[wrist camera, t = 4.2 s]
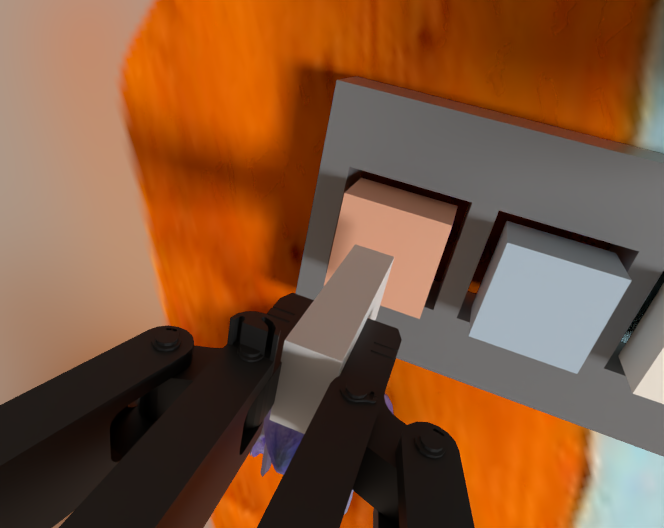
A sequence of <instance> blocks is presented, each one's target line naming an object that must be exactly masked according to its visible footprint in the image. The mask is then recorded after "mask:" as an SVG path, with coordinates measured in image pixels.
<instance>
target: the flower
mask: <svg viewBox="0 0 664 528" xmlns="http://www.w3.org/2000/svg"><path fill="white" fill-rule="evenodd" d="M384 398H385V403H386V405H387V407H388V409H389V410H390V411H391V412H392V414H393V406H392V403H391V401H390V399H389V398H388V396H387V395H386V394H384ZM271 409H272V407H271ZM271 409H270V411H269V412H268V414H267V415H266V417H265V418H264V424H263V428H262V432H261V434H260V436H259V438H258V439H257V441H256V443H255V444H254V446H253V447H252V449H251V451H250V455H251V453H252V456H253V457H255V456H257V455H258V454H259V453H262V454H263V461H262V468H261V475H262V477H263V476H264V474H265V473H266V472H267V471H268V470H269V468H270V466H271V463H272V464H273V466H274V469H275V470H276V472H278V473H280V474H283V475H284V473H285V471H286V470H287V468H288V466H289V464H290V462H291V460H292V458H293V456H294V454H295V452H296V450H297V448H298V446H299V444H300V442H301V440H302V438H303V436H304V434H303V433H300V432H298V431H296V430H293V429H291V428H288V427H286V426H283V425H281V424H279V423H276V422H274V421H271V420H269V419H270V414H271ZM393 415H394V414H393ZM352 494H353V490H352V492H351V495H350V498H349V501H348V503H347V506H346V509H345V512H344V514H345V513H347V510H348V507H349V505H350V502H351V499H352Z"/></svg>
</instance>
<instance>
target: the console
mask: <svg viewBox="0 0 664 528" xmlns="http://www.w3.org/2000/svg"><path fill="white" fill-rule="evenodd" d="M362 170H363V171H366V172H369V173H373V174H376V175H380V176H383V177H386V178H390V179H393V180H397V181H400V182H404V183H407V184H410V185H414V186H417V187H421V188H424V189H427V190H431V191H434V192H438V193H441V194H444V195H448V196H451V197H455V198H458V199H462V200H465V201H468V202H469V205H468V208H467V210H466V213H465V216H464V219H463V221H462V224H461V227H460V230H459V233H458V235H457V238H456V241H455V244H454V246H453V249H452V252H451V255H450V258H449V260H448V263H447V266H446V269H445V271H444V274H443V277H442V280H441V282H438V281H435V280H433V282H432V285H431V288H430V291H429V294H428V297H427V300H426V302H425V305H424V308H423V311H422V314H421V317H420V319H418V318H415V317H412V316H409V315H406V314H404V313H401V312H398V311H395V310H392V309H389V308H386V307H383V306H381V305H380V307H379V311H378V314H377V317H376V320H375V321H378V322H380V323H383V324H386V325H389V326H392V327H395V328H397V329H398V330H399V333H400V336H401V339H402V341H401V344H400V347H399V350H398V353H397V356H396V358H398V359H401V360H403V361H406V362H409V363H411V364H414V365H417V366H420V367H422V368H425V369H428V370H430V371H433V372H436V373H439V374H441V375H444V376H447V377H449V378H452V379H455V380H457V381H460V382H463V383H466V384H468V385H471V386H474V387H476V388H479V389H482V390H485V391H487V392H490V393H493V394H495V395H498V396H501V397H504V398H506V399H509V400H512V401H514V402H517V403H520V404H523V405H525V406H528V407H531V408H533V409H536V410H539V411H542V412H544V413H547V414H550V415H552V416H555V417H558V418H561V419H563V420H566V421H569V422H571V423H574V424H577V425H580V426H582V427H585V428H588V429H590V430H593V431H596V432H599V433H601V434H604V435H607V436H609V437H612V438H615V439H617V440H620V441H623V442H626V443H628V444H631V445H634V446H636V447H639V448H642V449H645V450H647V451H650V452H653V453H655V454H658V455H661V456H664V404H662V403H659V402H656V401H653V400H650V399H647V398H644V397H642V396H639V395H636V394H633V393H632V390H631V388H630V385H629V383H628V380H627V377H626V375H625V372H624V370H623V367H622V364H621V362H620V359H619V357H618V355H619V354H620V352H621V351H622V349H623V347H624V346H625V343H622V342H620V341H621V339H622V338H623V336H624V334H625V333H626V331H627V329H628V328H629V326H630V325H631V323H632V321H633V320H634V318H635V316H636V315H637V313H638V312H639V310H640V308H641V307H642V305H643V303H644V302H645V300H646V298H647V297H648V295H649V294H650V292H651V290H652V289H653V287H654V285H655V284H656V282H657V280H658V279H659V277H660V276H661V274H662V272H663V271H664V154H662V153H658V152H654V151H650V150H646V149H642V148H638V147H634V146H630V145H626V144H622V143H618V142H614V141H611V140H607V139H603V138H599V137H595V136H591V135H587V134H583V133H579V132H575V131H571V130H567V129H563V128H559V127H555V126H551V125H547V124H543V123H539V122H535V121H531V120H528V119H524V118H520V117H516V116H512V115H508V114H504V113H500V112H496V111H492V110H488V109H484V108H480V107H476V106H472V105H468V104H464V103H460V102H456V101H452V100H448V99H444V98H441V97H437V96H433V95H429V94H425V93H421V92H417V91H413V90H409V89H405V88H401V87H397V86H393V85H389V84H385V83H381V82H377V81H373V80H369V79H365V78H361V77H358V76H355V77H349V78H344V79H338V80H337V81H336V86H335V91H334V96H333V102H332V107H331V112H330V117H329V123H328V128H327V133H326V138H325V143H324V149H323V154H322V159H321V164H320V169H319V175H318V180H317V185H316V190H315V195H314V201H313V206H312V211H311V216H310V221H309V227H308V232H307V237H306V242H305V247H304V253H303V258H302V263H301V268H300V273H299V279H298V284H297V289H296V294H298V295H301V296H304V297H306V298H309V299H312V300H315V298H316V297H317V295H318V294H319V293H320V291H321V290H322V289H323V287H324V282H325V278H326V273H327V269H328V264H329V260H330V255H331V251H332V246H333V242H334V237H335V233H336V228H337V224H338V219H339V215H340V211H341V206H342V202H343V197H344V193H345V192H346V191H347V190H348V189H349V188H350V187H351V186H352V185H354V184H355V183H356V182H357V181H358V180H359V179H360V178H361V174H362ZM499 211H502V212H506V213H509V214H513V215H516V216H520V217H523V218H526V219H530V220H533V221H537V222H540V223H543V224H547V225H550V226H554V227H557V228H560V229H564V230H567V231H571V232H574V233H578V234H581V235H584V236H588V237H591V238H595V239H598V240H601V241H605V242H608V243H612V245H611V247H610V249H609V251H611V252H614V253H616V254H617V256H618V257H619V259H620V261H621V263H622V264H623V266H624V268H625V270H626V271H627V273H628V275H629V277H630V278H631V280H632V281H631V283H630V284H629V286H628V288H627V289H626V291H625V293H624V295H623V296H622V298H621V300H620V301H619V303H618V305H617V307H616V308H615V310H614V312H613V313H612V315H611V317H610V319H609V320H608V322H607V324H606V325H605V327H604V329H603V331H602V332H601V334H600V336H599V338H598V339H597V341H596V343H595V344H594V346H593V348H592V350H591V351H590V353H589V355H588V356H587V358H586V360H585V362H584V363H583V365H582V367H581V368H580V370H579V372H578V374H576V373H573V372H570V371H567V370H564V369H561V368H558V367H556V366H553V365H550V364H547V363H544V362H541V361H538V360H535V359H533V358H530V357H527V356H524V355H521V354H518V353H515V352H513V351H510V350H507V349H504V348H501V347H498V346H495V345H492V344H490V343H487V342H484V341H481V340H478V339H475V338H472V337H469V336H468V335H469V326H470V317H471V308H472V305H473V302H474V300H475V297H476V295H477V294H474V293H471V292H468V288H469V285H470V283H471V280H472V278H473V275H474V273H475V270H476V268H477V265H478V263H479V260H480V258H481V255H482V253H483V250H484V248H485V245H486V242H487V240H488V237H489V235H490V232H491V230H492V227H493V225H494V222H495V220H496V217H497V215H498V212H499Z"/></svg>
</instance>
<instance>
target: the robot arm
mask: <svg viewBox="0 0 664 528" xmlns="http://www.w3.org/2000/svg"><path fill="white" fill-rule="evenodd" d="M393 260H394V257H393V256H390V255H387V254H384V253H381V252H378V251H375V250H372V249H369V248H365V247H362V246H359V245H356V244H355V245H354V247H353V248H352V249H351V251H350V252H349V253H348V255H347V256H346V257H345V259H344V260H343V262H342V263H341V264H340V266H339V267H338V268H337V270H336V271H335V272H334V274H333V275H332V276H331V278H330V279H329V281H328V282H327V283H326V285H325V286H324V287H323V289H322V290H321V291H320V293H319V294H318V295H317V297H316V298H315V300H312V299H309V298H306V297H304V296H301V295H298V294H295V293H291V294H289V295H286V296H284V297H282V298H280V299H279V300H278V301H277V303H276V304H275V305H274V306H273V308H271V309H270V310H269V312H268V313H267V314H265V313H260V312H256V311H246V312H242V313H238V314H236V315H234V316H233V317H231V318H230V327H229V335H228V343H227V345H226V346H225V347H224V348H209V347H202V346H194V340H193V337H192V335H191V334H190V333H189V332H188V331H187V330H184V329H182V328H179V327H174V326H160V327H156V328H153V329H150V330H147V331H145V332H143V333H142V334H140V335H138V336H136V337H134V338H132V339H130V340H128V341H126V342H124V343H122V344H120V345H118V346H116V347H114V348H112V349H110V350H108V351H106V352H104V353H102V354H100V355H98V356H96V357H94V358H92V359H90V360H89V361H86V362H84V363H82V364H80V365H78V366H77V367H75V368H73V369H71V370H69V371H67V372H65V373H63V374H61V375H59V376H57V377H55V378H53V379H51V380H49V381H47V382H45V383H43V384H41V385H39V386H37V387H35V388H33V389H31V390H29V391H27V392H26V393H23V394H21V395H20V396H17V397H15V398H14V399H12V400H10V401H8V402H6V403H4V404H2V405H0V528H52V527H53V526H55V525H56V524H57V523H59V522H60V521H61V520H62V519H64V518H65V517H66V516H68V515H69V514H70V513H72V512H73V511H74V510H75V511H74V512H73V513H72V514H71V515H70V516H69V517H68V518H67V519H66V520H65V522H64V523H63V524H62V525H61V526H60V527H59V528H203V527H204V526H205V524H206V522H207V521H208V519H209V518H210V516H211V514H212V513H213V511H214V509H215V508H216V506H217V505H218V503H219V501H220V500H221V498H222V496H223V495H224V493H225V492H226V490H227V488H228V487H229V485H230V483H231V482H232V480H233V478H234V477H235V475H236V474H237V472H238V470H239V469H240V467H241V465H242V464H243V462H244V461H245V459H246V457H247V456H248V454H249V452H250V451H251V449H252V447H253V446H254V444H255V443H256V441H257V439H258V438H259V436H260V434H261V432H262V428H263V424H264V418H265V417H266V415H267V414H268V412H269V411H270V409H271V407H272V409H271V414H270V419H269V420H271V421H274V422H276V423H279V424H281V425H283V426H286V427H288V428H291V429H293V430H296V431H298V432H300V433H303V434H304V436H303V438H302V440H301V442H300V444H299V446H298V448H297V450H296V452H295V454H294V456H293V458H292V460H291V462H290V464H289V466H288V468H287V470H286V471H285V473H284V475H283V477H282V479H281V481H280V483H279V485H278V487H277V489H276V491H275V493H274V495H273V497H272V499H271V501H270V503H269V505H268V507H267V509H266V511H265V513H264V515H263V517H262V519H261V521H260V523H259V525H258V527H257V528H339V527H340V524H341V521H342V518H343V515H344V512H345V509H346V506H347V503H348V501H349V498H350V495H351V492H352V490H353V491H355V492H356V493H357V494H358V495H359V496H361V497H362V498H363V499H364V500H365V501H367V502H368V503H369V504H370V505H371V506H373V507H374V511H373V528H474V523H473V518H472V513H471V508H470V503H469V498H468V493H467V488H466V483H465V478H464V473H463V468H462V463H461V458H460V453H459V449H458V447H457V445H456V442H455V441H454V439H453V438H452V437H451V436H450V435H449V434H448V433H447V432H446V431H444V430H443V429H441V428H440V427H439V426H436V425H433V424H431V423H428V422H415V423H412V424H409V425H406V424H405V423H403V422H402V421H400V420H399V419H398V418H397V417H396V416H394V415H393V414H392V412H391V411H390V410H389V409H388V407H387V405H386V403H385V398H384V394H385V389H386V386H387V383H388V380H389V377H390V374H391V371H392V368H393V365H394V362H395V359H396V356H397V353H398V350H399V347H400V344H401V341H402V339H401V336H400V333H399V330H398V329H397V328H395V327H392V326H389V325H386V324H383V323H380V322H378V321H375V320H376V317H377V314H378V311H379V307H380V304H381V301H382V297H383V294H384V290H385V287H386V284H387V280H388V277H389V274H390V270H391V267H392V264H393Z"/></svg>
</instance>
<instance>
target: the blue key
mask: <svg viewBox="0 0 664 528" xmlns="http://www.w3.org/2000/svg"><path fill="white" fill-rule="evenodd" d="M631 281H632V280H631V278H630V277H629V275H628V273H627V271H626V270H625V268H624V266H623V264H622V263H621V261H620V259H619V257H618V256H617V254H616V253H614V252H611V251H607V250H604V249H601V248H597V247H594V246H591V245H587V244H584V243H580V242H577V241H574V240H570V239H567V238H564V237H560V236H557V235H553V234H550V233H547V232H543V231H540V230H537V229H533V228H530V227H526V226H523V225H520V224H516V223H513V222H510V221H506V224H505V226H504V229H503V231H502V233H501V236H500V238H499V241H498V243H497V246H496V248H495V251H494V253H493V256H492V258H491V260H490V263H489V265H488V268H487V270H486V273H485V275H484V278H483V280H482V283H481V285H480V287H479V290H478V292H477V295H476V297H475V300H474V302H473V305H472V308H471V317H470V326H469V335H468V336H469V337H472V338H475V339H478V340H481V341H484V342H487V343H490V344H492V345H495V346H498V347H501V348H504V349H507V350H510V351H513V352H515V353H518V354H521V355H524V356H527V357H530V358H533V359H535V360H538V361H541V362H544V363H547V364H550V365H553V366H556V367H558V368H561V369H564V370H567V371H570V372H573V373H576V374H578V372H579V370H580V368H581V367H582V365H583V363H584V362H585V360H586V358H587V356H588V355H589V353H590V351H591V350H592V348H593V346H594V344H595V343H596V341H597V339H598V338H599V336H600V334H601V332H602V331H603V329H604V327H605V325H606V324H607V322H608V320H609V319H610V317H611V315H612V313H613V312H614V310H615V308H616V307H617V305H618V303H619V301H620V300H621V298H622V296H623V295H624V293H625V291H626V289H627V288H628V286H629V284H630V283H631Z"/></svg>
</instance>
